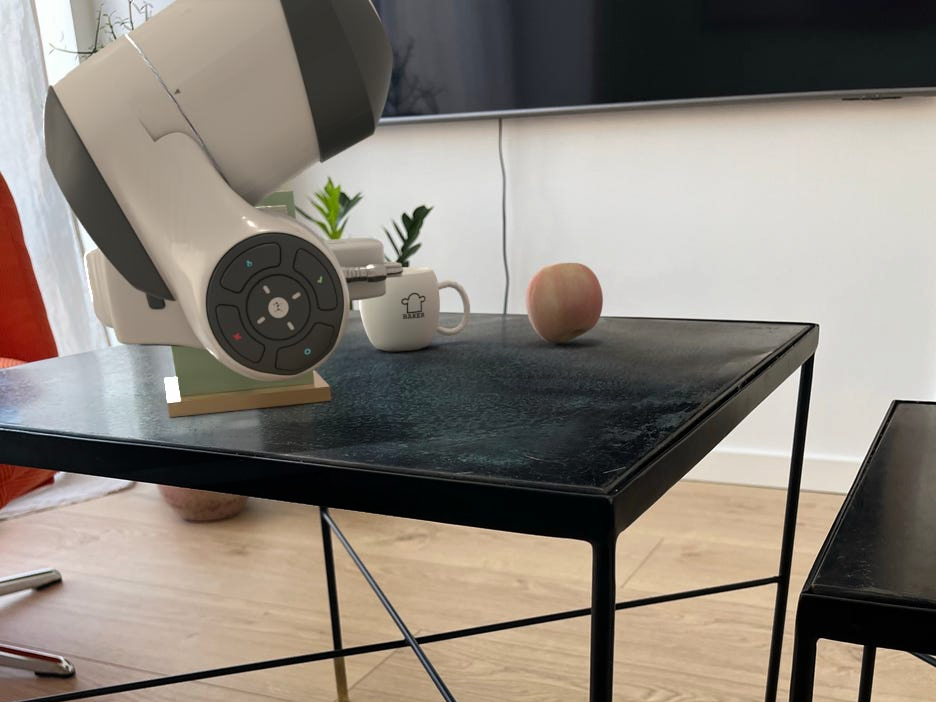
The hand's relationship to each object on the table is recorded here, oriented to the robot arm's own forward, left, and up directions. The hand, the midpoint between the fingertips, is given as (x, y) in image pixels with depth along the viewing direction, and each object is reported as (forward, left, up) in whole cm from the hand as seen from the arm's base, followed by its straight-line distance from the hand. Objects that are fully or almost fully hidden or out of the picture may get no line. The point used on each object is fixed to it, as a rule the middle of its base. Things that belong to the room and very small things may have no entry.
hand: (233, 268), depth 76 cm
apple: (+34, +20, -11) cm, 41 cm away
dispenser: (0, +8, -11) cm, 13 cm away
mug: (+20, +27, -11) cm, 35 cm away
